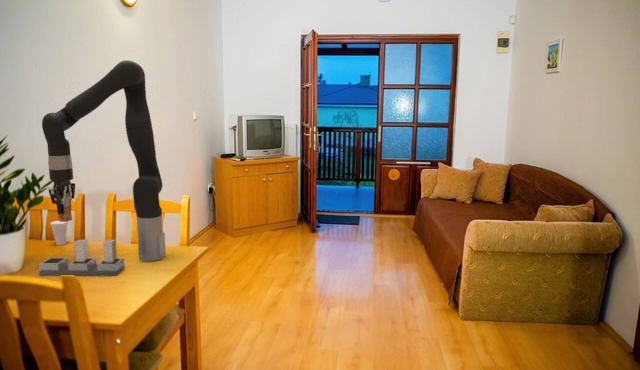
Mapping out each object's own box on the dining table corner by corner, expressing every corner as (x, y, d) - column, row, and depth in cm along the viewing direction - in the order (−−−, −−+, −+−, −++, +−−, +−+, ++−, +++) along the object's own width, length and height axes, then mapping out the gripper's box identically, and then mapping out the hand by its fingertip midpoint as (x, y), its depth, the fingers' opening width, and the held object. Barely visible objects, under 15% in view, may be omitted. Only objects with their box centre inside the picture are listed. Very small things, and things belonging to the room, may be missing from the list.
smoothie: (72, 242, 188) (70, 210, 185) (62, 246, 182) (60, 214, 179) (59, 241, 188) (56, 210, 186) (48, 245, 182) (45, 213, 180)
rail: (125, 267, 160) (123, 237, 158) (115, 276, 152) (113, 244, 150) (52, 267, 159) (49, 237, 157) (38, 275, 151) (35, 243, 149)
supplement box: (58, 221, 162) (55, 195, 160) (66, 219, 165) (64, 193, 163) (64, 222, 161) (62, 196, 159) (72, 220, 164) (70, 194, 162)
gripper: (60, 170, 152) (64, 217, 155) (81, 165, 166) (84, 208, 169) (38, 170, 152) (43, 217, 155) (61, 164, 166) (65, 208, 169)
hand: (64, 212), depth 162 cm, fingers closed on supplement box, 4 cm apart
